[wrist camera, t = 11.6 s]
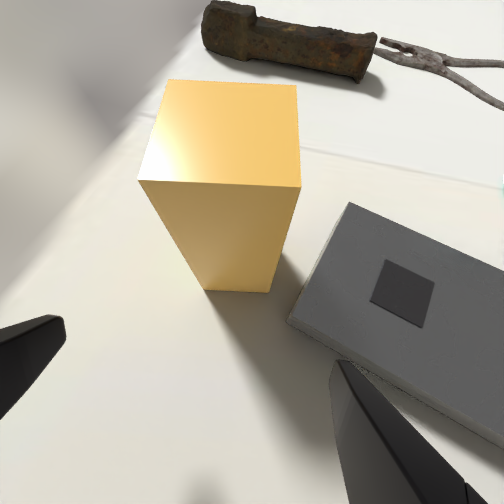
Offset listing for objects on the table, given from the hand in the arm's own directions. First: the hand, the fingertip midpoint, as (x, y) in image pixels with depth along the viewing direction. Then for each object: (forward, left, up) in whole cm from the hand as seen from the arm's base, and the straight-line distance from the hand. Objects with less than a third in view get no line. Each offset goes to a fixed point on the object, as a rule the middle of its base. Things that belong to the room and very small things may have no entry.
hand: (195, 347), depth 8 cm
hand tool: (+29, +11, -8) cm, 32 cm away
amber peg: (+6, +2, -8) cm, 10 cm away
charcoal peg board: (+8, -14, -8) cm, 18 cm away
